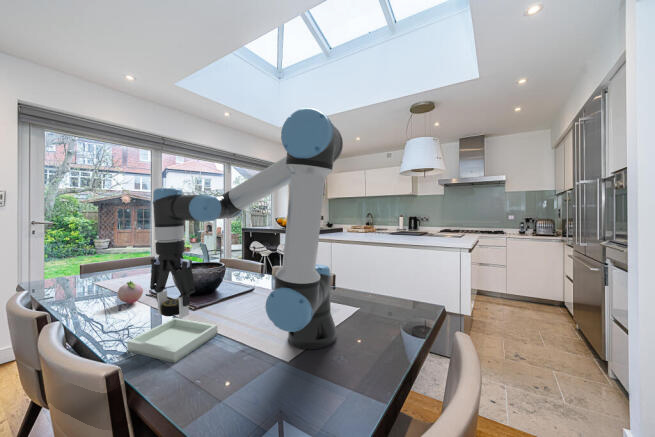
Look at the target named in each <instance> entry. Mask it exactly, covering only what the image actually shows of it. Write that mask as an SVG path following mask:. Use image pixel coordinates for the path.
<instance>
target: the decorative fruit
mask: <svg viewBox="0 0 655 437" xmlns="http://www.w3.org/2000/svg"><path fill="white" fill-rule="evenodd" d="M143 294H144V289H143V287H142V285H140V284H138V283H135V282H134V281H131V280H129V281H127V282H126V283H125V284H123V285H121V286H120V287H119V289H118V290H117V297H118V299H119V301H120V302H123V303H126V304H131V305H133V304H135V303H137V301H139V300H140V299H141V297H142V296H143Z"/></svg>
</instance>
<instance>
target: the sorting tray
mask: <svg viewBox="0 0 655 437" xmlns="http://www.w3.org/2000/svg"><path fill="white" fill-rule="evenodd" d="M218 333H219V332H218V324H213V323H208V322H202V321H196V320H191V319H186V318H185V319H184V318H180V317H173V318H171V319H169V320H167V321H166V322H163V323H161V324H159V325H157V326H155V327H153V328H150V329H149V330H147V331H145V332H143V333H141V334H139V335H137V336H135V337H132V338H131V339H128V340H127V341H126V343H127V346H126V347H127V352H129V353H134V354H136V355H137V354H138V355H142V356H146V357H150V358H154V359H158V360H162V361H165V362H170V363H174V364H176V363H177V362H179V361H180V360H181V359H183V358H185V357H186V356H187V355H189V354H191V353H192V352H194V351H195V350H196V349H198V348H199V347H201V346H203V344H205V343H207V342H209V341H210V340H211V339H213V338H214V337H216V336H217V335H218Z"/></svg>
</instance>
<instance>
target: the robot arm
mask: <svg viewBox="0 0 655 437" xmlns="http://www.w3.org/2000/svg"><path fill="white" fill-rule="evenodd" d="M280 139H281V144H282V145H283V148H284V150H285V151H286V156H285V157H283V158H281V159H279V160H277V161H276V162H274V163H273V164H271V165H270V166H268V167H266V168H264V169H263V170H261V171H259V172H258V173H256V174H254V175H253V176H251V177H249V178H248V179H246V180H244V181H243V182H241V183H239V184H238V185H236V186H235V187H233V188H231V189H229V190H228V191H226V192H225V193H223V194H220V195H218V194H216V195H215V194H214V195H212V194H185V195H184V194H183V190H182V189H181V188H171V187H170V188H167V187H166V188H165V187H163V188H162V187H161V188H159V187H158V188H155V189H154V190H153V196H152V198H153V199H152V205H153V222H154V240H155V241H156V242H155V243H154V244H155V245H154V246H155V254H156V255H158V257H152V258H151V259H150V264H151V270H150V271H151V272H150V287H149V289H150V290H151V291H152V290H153V291H154V292H155V294H156V295H155V296H156V302H157V314H158V315H162V314H161V305H162V303H164V302H165V301H168V290H167V287H166V285H167V282H168V279H169V275H170V273H171V275H172V276H173V277H174V280H175V282H176V285H177V288H178V291H179V293H180V295H178V299H179V315H178V316H179V318H180V319H184V318H185V317H187V316H188V315H190V309H189V308H190V304H191V301H190V295H191V294H193V293H195V292H196V287H195V279H194V275H193V268H192V265H193V261H192V259H185V258H184V252H185V251H186V244H185V240H184V238H185V221H187V222H188V221H191V222H199V223H200V222H201V223H204V222H213V221H216V220H220V219H233V218H235V217H238V216H240V215H241V213H242V212H243V210H245V209H247V208H248V207H250V206H252V205H254V204H255V203H257V202H259V201H261V200H263V199H264V198H267V197H269V195H271V194H273V193H275V192H276V191H278V190H280V189H282V188H283V187H286V186H287V185H289V184H290V185H289V195H288V204H287V205H288V206H287V215H286V223H285V224H286V225H285V226H286V227H285V236H284V247H283V256H282V266H281V267H280V268H279V269H278V270H277V271H276V272H275V277H274V278H275V279H274V288H273V290H272V291H271V292H270V293H269V295H268V296H267V298H266V301H265V312H266V314H267V317H268V319H269V321H271V322H272V323H273V325H274V326H275V327H276V328H278V329H279V330H281V331H284V332H288V341H289V343H290V344H292V346H294V347H296V348H298V349H303V350H317V349H323V348H326V347H328V346H330V345H331V344H333V343H334V342H335V341H336V339H337V327H336V324H335V321H334V319H333V316H332V312H331V311H332V310H331V305H332V304H331V277H332V274H331V269H330V267H329V266H328V265H325V264H319V263H317V258H318V247H319V240H320V232H321V231H320V230H321V222H322V221H321V220H322V212H323V204H324V194H325V193H324V192H325V187H326V186H325V183H326V178H327V177H328V176H329V175H330V174H331V173H332V172H333V166H334V163H335V162H336V161H337V160H338V159H339V157H340V156H341V154H342V151H343V149H344V148H343V146H344V142H343V137H342V134H341V133H340V130H339V129H338V128H337V127H336V126H335V125H334V124H333V123H332V120H331V119H330V118H329V117H328V116H327V115H326V114H325V113H323V112H322V111H320V110H318V109H317V108H316V109H315V108H311V107H304V108H300V109H298V110H296V111H294V112H293V113H292V114H290V115H289V116H287V118H286V119H285V121H284V122H283V124H282V127H281V132H280Z"/></svg>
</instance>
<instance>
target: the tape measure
mask: <svg viewBox="0 0 655 437" xmlns="http://www.w3.org/2000/svg"><path fill="white" fill-rule="evenodd" d="M160 315H161V316H164V317H174V316H179V298H173V299H167V301H165V302H164V303H162V305H161V314H160Z"/></svg>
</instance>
